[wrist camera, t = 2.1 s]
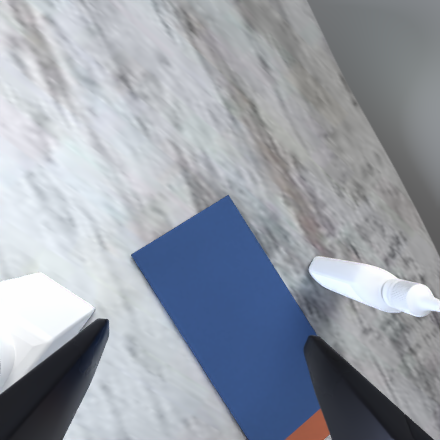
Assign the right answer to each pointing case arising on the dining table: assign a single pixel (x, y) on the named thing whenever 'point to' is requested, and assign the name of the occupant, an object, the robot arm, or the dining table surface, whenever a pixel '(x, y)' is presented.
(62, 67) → the dining table surface
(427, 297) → the eye dropper bottle
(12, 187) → the dining table surface
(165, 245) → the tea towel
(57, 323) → the medicine bottle
